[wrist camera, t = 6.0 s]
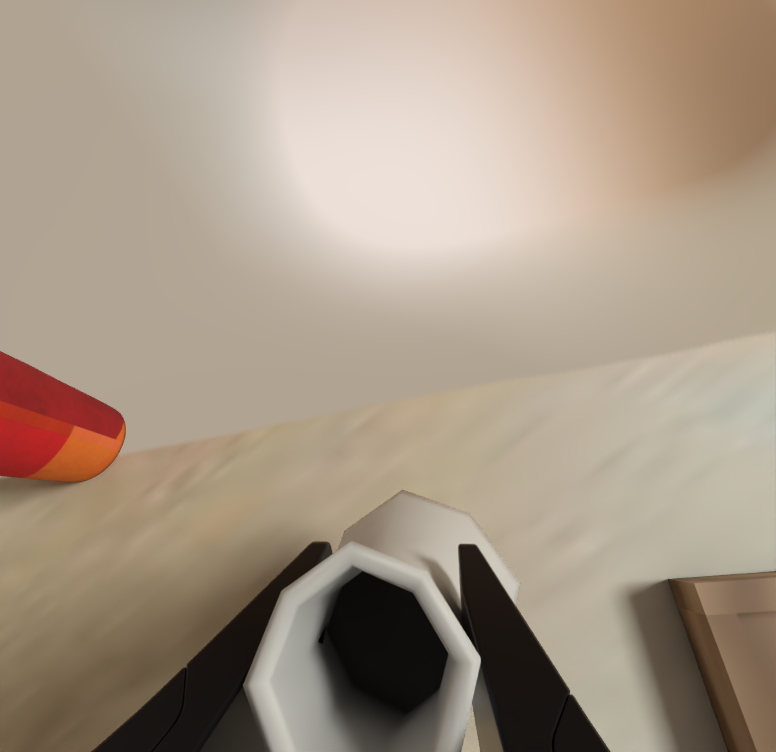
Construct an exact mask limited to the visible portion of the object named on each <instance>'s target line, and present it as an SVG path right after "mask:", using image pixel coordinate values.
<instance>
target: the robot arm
mask: <svg viewBox="0 0 776 752" xmlns="http://www.w3.org/2000/svg"><path fill="white" fill-rule="evenodd" d="M331 555H332V549H331V545H330V543H329V542H317V541H315V542H312V543H311V544H310V545H308V546H307V547H306V548H305V549H304V550H303V551H302V552H301V553H300V554H299V555H298V556H297V557H296V558H295V559H294V560H293V561H292V562H291V563H290V564H289V565H288V566H287V567H286V568H285V569H284V570H283V571H282V572H281V573H280V574H279V575H278V576H277V577H276V578H275V579H274V580H273V581H272V582H271V583H270V584H269V585H268V586H266V587H265V588H264V589H263V590H262V591H261V592H260V593H259V594H258V595H257V596H256V597H255V598H254V599H253V600H252V601H251V602H250V603H249V604H248V605H247V606H246V607H245V608H244V609H243V610H242V611H241V612H240V613H239V614H238V615H237V616H236V617H235V618H234V619H233V620H232V621H231V622H230V623H229V624H228V625H227V626H226V627H224V628H223V629H222V630H221V631H220V632H219V633H218V634H217V635H216V636H215V637H214V638H213V639H212V640H211V641H210V642H209V643H208V644H207V645H206V646H205V647H204V648H203V649H202V650H201V651H200V652H199V653H198V654H197V655H196V656H195V657H194V658H193V659H192V660H191V661H190V662H189V663H188V664H187V667H186V668H185V667H184V668H182V669H181V670H180V671H179V672H178V673H177V674H176V675H175V676H174V677H173V678H172V679H171V680H170V681H169V682H168V683H167V684H166V685H165V686H164V687H163V688H162V689H161V690H160V691H158V692H157V693H156V694H155V695H154V696H153V697H152V698H151V699H150V700H149V701H148V702H147V703H146V704H145V705H144V706H143V707H141V708H140V709H139V710H138V711H137V712H136V713H135V714H134V715H133V716H132V717H130V718H129V719H128V720H127V721H126V722H125V723H124V724H123V725H121V726H120V727H119V728H118V729H117V730H116V731H115V732H113V733H112V734H111V735H110V736H109V737H108V738H107V739H106V740H104V741H103V742H102V743H101V744H100V745H99V746H97V747H96V748H95V749H94V750H93V751H92V752H266V751H265V748H264V745H263V742H262V739H261V736H260V733H259V731H258V728H257V725H256V722H255V719H254V716H253V713H252V710H251V707H250V705H249V702H248V699H247V696H246V693H245V690H244V687H243V684H244V682H245V679H246V677H247V674H248V672H249V669H250V667H251V664H252V662H253V660H254V657H255V655H256V652H257V650H258V647H259V645H260V642H261V640H262V637H263V635H264V633H265V630H266V628H267V625H268V623H269V620H270V618H271V615H272V613H273V610H274V608H275V605H276V603H277V601H278V598H279V596H280V593H281V591H282V590H283V589H285V588H286V587H287V586H289V585H290V584H291V583H293V582H294V581H296V580H297V579H298V578H300V577H301V576H303V575H304V574H305V573H307V572H308V571H310V570H311V569H312V568H314V567H315V566H317V565H318V564H319V563H321V562H322V561H324V560H325V559H326V558H328V557H329V556H331ZM458 562H459V581H460V597H461V613H462V625H463V630H464V631H465V633H466V635H467V636H468V638H469V639H470V641H471V643H472V644H473V646H474V648H475V649H476V651H477V652H478V654H479V656H480V657H481V663H480V668H479V672H478V677H477V681H476V686H475V690H474V695H473V699H472V705H473V711H474V717H475V723H476V729H477V734H478V740H479V746H480V752H610V750H609V749H608V747H607V746H606V744H605V743H604V741H603V740H602V738H601V737H600V735H599V734H598V732H597V731H596V729H595V728H594V726H593V725H592V723H591V722H590V721H589V719H588V717H587V716H586V714H585V713H584V711H583V710H582V708H581V707H580V705H579V703H578V702H577V700H576V699H575V697H574V696H573V695H570V690H569V688H568V687H567V685H566V683H565V682H564V680H563V679H562V677H561V676H560V674H559V673H558V671H557V669H556V668H555V666H554V665H553V663H552V662H551V660H550V658H549V657H548V655H547V654H546V652H545V651H544V649H543V648H542V646H541V644H540V643H539V641H538V640H537V638H536V637H535V635H534V633H533V632H532V630H531V629H530V627H529V626H528V624H527V623H526V621H525V619H524V618H523V616H522V615H521V613H520V612H519V610H518V608H517V607H516V605H515V604H514V602H513V601H512V599H511V598H510V596H509V594H508V593H507V591H506V590H505V588H504V587H503V585H502V583H501V582H500V580H499V579H498V577H497V576H496V574H495V573H494V571H493V569H492V568H491V566H490V565H489V563H488V562H487V560H486V558H485V557H484V555H483V554H482V552H481V551H480V549H479V548H478V546H477V545H476V544H459V545H458ZM326 625H327V624H326ZM325 630H326V626H325V628H324V630H323V632H322V634H321V636H320V638H319V641H318V642H319V643H321V644H323V641H324V636H325Z"/></svg>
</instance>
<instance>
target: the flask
mask: <svg viewBox="0 0 776 752" xmlns="http://www.w3.org/2000/svg"><path fill="white" fill-rule="evenodd" d="M459 544H476V545H477V546H478V548H479V549H480V551H481V552H482V554H483V555H484V557H485V558H486V560H487V562H488V563H489V565H490V566H491V568H492V569H493V571H494V573H495V574H496V576H497V577H498V579H499V580H500V582H501V583H502V585H503V587H504V588H505V590H506V591H507V593H508V594H509V596H510V598H511V599H512V601H513V602H514V604H515V605H516V603H517V598H518V593H519V588H520V582H519V580H518V579H517V578H516V576H515V575H514V573H513V572H512V571H511V569H510V568H509V567H508V565H507V564H506V562H505V561H504V560H503V558H502V557H501V555H500V554H499V553H498V551H497V550H496V548H495V547H494V546H493V544H492V543H491V542H490V540H489V539H488V537H487V536H486V535H485V533H484V532H483V530H482V529H481V528H480V526H479V525H478V523H477V522H476V521H475V519H474V518H473V517H472V515H471V514H470V513H467V512H464V511H461V510H459V509H456V508H453V507H450V506H447V505H445V504H442V503H439V502H436V501H433V500H430V499H428V498H425V497H422V496H419V495H416V494H414V493H411V492H408V491H405V490H401V491H400V492H398V493H397V494H396V495H394V496H393V497H391V498H390V499H389V500H387V501H386V502H384V503H383V504H382V505H380V506H379V507H377V508H376V509H375V510H373V511H372V512H370V513H369V514H367V515H366V516H365V517H363V518H362V519H360V520H359V521H358V522H356V523H355V524H353V525H352V526H351V527H349V528H348V529H346V530H345V531H344V534H343V537H342V540H341V542H340V545H339V548H338V550H337V551H336V552H335V553H333V554H332V555H331V556H329V557H328V558H326V559H325V560H324V561H322V562H321V563H319V564H318V565H317V566H315V567H314V568H312V569H311V570H310V571H308V572H307V573H305V574H304V575H303V576H301V577H300V578H298V579H297V580H296V581H294V582H293V583H291V584H290V585H289V586H287V587H286V588H285V589H283V590H282V591H281V593H280V596H279V598H278V601H277V603H276V605H275V608H274V610H273V613H272V615H271V618H270V620H269V623H268V625H267V628H266V630H265V633H264V635H263V637H262V640H261V642H260V645H259V647H258V650H257V652H256V655H255V657H254V660H253V662H252V664H251V667H250V669H249V672H248V674H247V677H246V679H245V682H244V684H243V687H244V690H245V693H246V696H247V699H248V702H249V705H250V707H251V710H252V713H253V716H254V719H255V722H256V725H257V728H258V731H259V733H260V736H261V739H262V742H263V745H264V748H265V751H266V752H461V750H462V745H463V741H464V736H465V731H466V727H467V722H468V718H469V713H470V709H471V704H472V699H473V695H474V690H475V686H476V681H477V677H478V672H479V668H480V663H481V657H480V656H479V654H478V652H477V651H476V649H475V648H474V646H473V644H472V643H471V641H470V639H469V638H468V636H467V635H466V633H465V631H464V630H463V625H462V613H461V597H460V581H459V562H458V545H459ZM326 624H327V625H326ZM325 626H326V630H325V636H324V641H323V644H321V643H319V642H318V641H319V638H320V636H321V634H322V632H323V630H324V628H325Z"/></svg>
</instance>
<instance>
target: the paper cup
mask: <svg viewBox="0 0 776 752" xmlns="http://www.w3.org/2000/svg"><path fill="white" fill-rule="evenodd" d="M125 434H126V427H125V421H124V419H123V417H122V415H121V414H120V413H119V412H118V411H116V410H115V409H113V408H112V407H110V406H108V405H106V404H104V403H103V402H101V401H99V400H97V399H95V398H93V397H91V396H89V395H87V394H85V393H83V392H81V391H79V390H77V389H75V388H73V387H71V386H69V385H67V384H65V383H63V382H61V381H59V380H57V379H55V378H53V377H51V376H49V375H47V374H45V373H43V372H42V371H39V370H38V369H36V368H34V367H32V366H30V365H28V364H26V363H24V362H21V361H19V360H18V359H15V358H13V357H11V356H9V355H7V354H5V353H3V352H1V351H0V476H7V477H17V478H28V479H39V480H51V481H65V482H80V481H85V480H88V479H91V478H93V477H95V476H97V475H98V474H100V473H101V472H103V471H104V470H105V469H106V468H107V467H108V466H109V465H110V464H111V463H112V462H113V461H114V459H115V458H116V457H117V455H118V454H119V452H120V450H121V448H122V445H123V443H124V439H125Z"/></svg>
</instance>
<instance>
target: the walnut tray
mask: <svg viewBox="0 0 776 752" xmlns="http://www.w3.org/2000/svg"><path fill="white" fill-rule="evenodd" d="M668 581H669V584H670V586H671V589H672V592H673V595H674V598H675V601H676V604H677V606H678V609H679V612H680V615H681V618H682V621H683V624H684V626H685V629H686V632H687V635H688V638H689V641H690V644H691V646H692V649H693V652H694V655H695V658H696V661H697V664H698V666H699V669H700V672H701V675H702V678H703V681H704V684H705V686H706V689H707V692H708V695H709V698H710V701H711V704H712V706H713V709H714V712H715V715H716V718H717V721H718V724H719V726H720V729H721V732H722V735H723V738H724V741H725V744H726V746H727V749H728V752H776V571H774V572H761V573H747V574H733V575H719V576H705V577H692V578H678V579H668Z"/></svg>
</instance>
